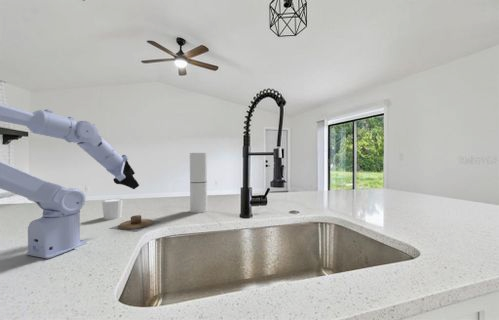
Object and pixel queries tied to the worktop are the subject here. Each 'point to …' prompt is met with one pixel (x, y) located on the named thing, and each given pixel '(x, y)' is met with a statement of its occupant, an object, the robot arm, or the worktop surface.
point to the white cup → (112, 208)
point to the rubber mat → (134, 229)
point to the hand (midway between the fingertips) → (134, 180)
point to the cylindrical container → (198, 182)
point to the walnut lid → (135, 223)
